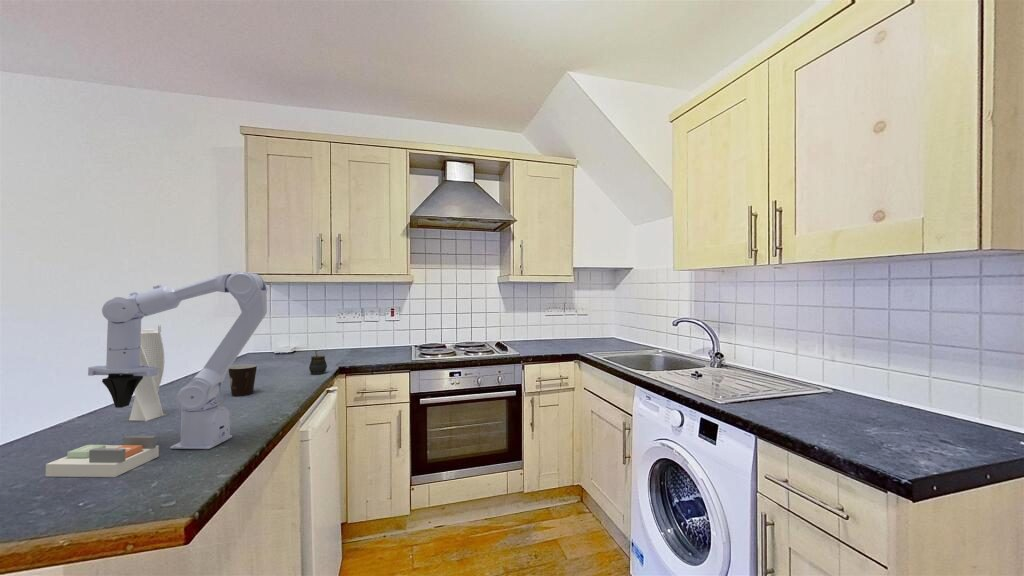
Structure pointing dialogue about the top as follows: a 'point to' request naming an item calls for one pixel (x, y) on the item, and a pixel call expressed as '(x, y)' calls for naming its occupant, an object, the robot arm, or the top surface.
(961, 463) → the top surface
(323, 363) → the mate gourd
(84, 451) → the on button
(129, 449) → the button
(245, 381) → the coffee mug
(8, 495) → the top surface
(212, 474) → the top surface
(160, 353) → the skyscraper
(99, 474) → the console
